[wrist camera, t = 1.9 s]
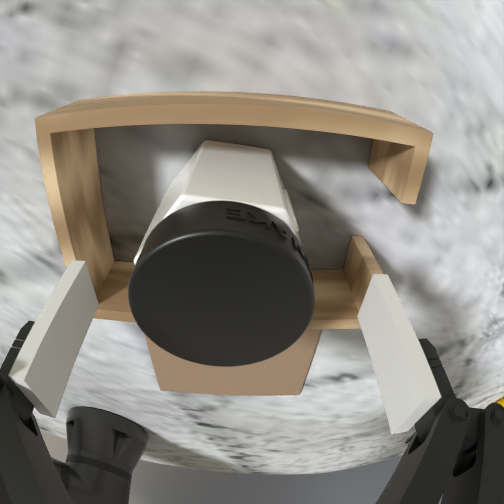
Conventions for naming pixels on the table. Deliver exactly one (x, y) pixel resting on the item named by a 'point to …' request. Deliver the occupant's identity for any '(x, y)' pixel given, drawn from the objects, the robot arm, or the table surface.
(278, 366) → the mat
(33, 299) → the table surface
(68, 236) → the crate
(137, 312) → the jar
